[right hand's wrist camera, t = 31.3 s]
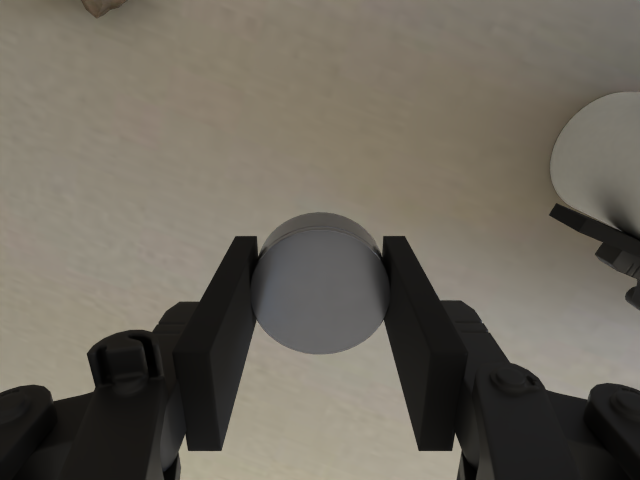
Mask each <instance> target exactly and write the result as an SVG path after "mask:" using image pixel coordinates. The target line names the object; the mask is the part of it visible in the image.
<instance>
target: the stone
mask: <svg viewBox="0 0 640 480" xmlns="http://www.w3.org/2000/svg"><path fill="white" fill-rule="evenodd" d="M81 1H82V3H83V5H84V6H85V8H86V10H88V11H89V12H90V13H91V14H92V15H93V16H95V17H96V18H98V17H100V16H102V15H104V14H105V13H106V12H108V11H109V10H111V9H114V8H118V7H120V6H121V5H122V4H123V3H124V2H126V1H127V0H81Z"/></svg>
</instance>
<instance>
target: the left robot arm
mask: <svg viewBox="0 0 640 480" xmlns="http://www.w3.org/2000/svg"><path fill="white" fill-rule="evenodd" d="M549 215H550V216H551V217H553V218H555V219H557V220H558V221H560V222H562V223H564V224H566V225H567V226H569V227H571V228H573V229H574V230H576V231H578V232H580V233H583V234H585V235H587V236H590V237H592V238H594V239H597V240H599V241H602V242H603V243H602V245H601V246H600V247H599V249H598V250H597V252H596V253H595V255H596V256H597V257H598V259H599V260H601V261H602V262H604V263H605V264H607V265H609V266H610V267H612V268H613V269H615V270H617V271H619V272H621V273H624V274H626V275H629V276H631V277H634V278H636V279H637V286H636V287H632V288H631V289H629V290H628V292H627V293H626V296H625V299H626V301H627V302H628V303H630V304H631V305H633V306H634V307H636V308H637V309H638V310H640V240H639V239H637V238H635V237H633V236H631V235H629V234H627V233H624V232H622V231H620V230H618V229H615V228H613V227H611V226H608V225H606V224H604V223H601V222H599V221H597V220H594V219H592V218H590V217H587V216H585V215H583V214H580V213H578V212H576V211H573V210H571V209H569V208H566V207H564V206H562V205H559V204H557V203H556V205H555V206H554V208H553V209H552V211H551V212H550V214H549Z"/></svg>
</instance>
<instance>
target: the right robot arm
mask: <svg viewBox="0 0 640 480" xmlns="http://www.w3.org/2000/svg"><path fill="white" fill-rule="evenodd" d="M382 258H383V261H384V264H385V267H386V270H387V273H388V275H389V279H390V285H391V286H390V300H389V308H388V311H387V314H386V316H385V318H384V322H385V326H386V330H387V334H388V337H389V341H390V345H391V348H392V352H393V356H394V360H395V363H396V367H397V371H398V375H399V378H400V382H401V386H402V390H403V393H404V397H405V401H406V405H407V408H408V412H409V416H410V420H411V423H412V427H413V431H414V435H415V438H416V442H417V446H418V449H419V451H452V448H453V442H454V436H455V433H456V436H457V438H458V441H459V443H460V446H461V449H462V452H461V458H460V464H459V469H458V475H457V480H640V391H639V390H637V389H634V388H631V387H628V386H624V385H620V384H611V383H604V384H599V385H596V386H595V387H594V388H592V389H591V391H590V394H589V397H588V400H586V399H581V398H577V397H572V396H568V395H563V394H559V393H555V392H552V391H548V390H546V389H545V387H544V385H543V384H542V383H541V381H540V380H539V378H538V377H536V376H535V375H534V374H533V373H531V372H530V371H529V370H527V369H525V368H523V367H520V366H518V365H516V364H512V363H510V362H509V360H508V359H507V357H506V356H505V354H504V353H503V352H502V350H501V349H500V347H499V346H498V344H497V343H496V341H495V340H494V338H493V337H492V335H491V334H490V333H488V329H487V328H486V326H485V325H484V323H482V320H481V319H480V318H479V316H478V315H477V313H476V312H475V310H474V309H472V308H471V307H469V306H468V305H467V304H465V303H464V302H462V301H440V300H439V298H438V296H437V294H436V292H435V291H434V289H433V287H432V285H431V283H430V281H429V280H428V278H427V276H426V274H425V272H424V270H423V269H422V267H421V265H420V263H419V261H418V260H417V258H416V256H415V254H414V252H413V250H412V249H411V247H410V245H409V243H408V241H407V240H406V238H405V236H383V252H382ZM257 259H258V247H257V236H235V238H234V240H233V242H232V244H231V245H230V247H229V249H228V251H227V253H226V255H225V256H224V258H223V260H222V262H221V264H220V266H219V267H218V269H217V271H216V273H215V275H214V276H213V278H212V280H211V282H210V284H209V286H208V287H207V289H206V291H205V293H204V295H203V297H202V298H201V300H200V302H179V303H177V304H176V305H174V306H173V307H171V308H170V309H169V310H167V311H166V312H165V314H164V315H163V317H162V318H161V320H160V321H159V324H158V325H157V326H156V327H155V329H154V330H153V332H149V331H145V330H128V331H124V332H119V333H116V334H113V335H111V336H108V337H106V338H104V339H102V340H101V341H99V342H98V343H96V344H95V345H93V347H92V348H91V349H90V350H89V351H88V353H87V356H88V360H89V364H90V368H91V372H92V375H93V379H94V383H95V387H96V388H95V390H94V392H91V393H88V394H84V395H80V396H76V397H71V398H67V399H62V400H58V401H53V399H52V396H51V393H50V391H49V390H48V389H47V388H45V387H44V386H38V385H27V386H19V387H16V388H12V389H9V390H6V391H4V392H2V393H0V480H180V472H181V465H180V458H179V452H178V451H179V449H180V446H181V444H182V441H183V438H184V436H185V434H186V440H187V446H188V451H221V450H222V447H223V443H224V439H225V436H226V432H227V428H228V424H229V421H230V417H231V413H232V409H233V406H234V402H235V398H236V394H237V391H238V387H239V383H240V379H241V376H242V372H243V368H244V364H245V361H246V357H247V353H248V349H249V346H250V342H251V338H252V335H253V331H254V327H255V323H256V320H257V319H256V317H255V315H254V313H253V310H252V307H251V297H250V281H251V277H252V273H253V270H254V268H255V265H256V262H257Z"/></svg>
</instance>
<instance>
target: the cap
mask: <svg viewBox="0 0 640 480" xmlns="http://www.w3.org/2000/svg"><path fill="white" fill-rule="evenodd" d="M390 286H391V285H390V279H389V275H388V273H387V270H386V267H385V264H384V261H383V258H382V256H381V253H380V250H379V248H378V246H377V244H376V242H375V240H374V239H373V238H372V236H371V235H370V234H369V233H368V232H367V231H366V230H365V229H364V228H363V227H362V226H360V225H359V224H358V223H356V222H354V221H352V220H351V219H348V218H346V217H344V216H340V215H337V214H332V213H320V212H317V213H308V214H304V215H300V216H297V217H294V218H292V219H290V220H288V221H286V222H284V223H283V224H281V225H280V226H279V227H277V228H276V229H275V230H274V231H273V232H272V233H271V234H270V236H269V237H268V238H267V239H266V241H265V243H264V244H263V246H262V249H261V251H260V253H259V256H258V259H257V262H256V265H255V268H254V270H253V273H252V277H251V281H250V297H251V307H252V310H253V313H254V315H255V317H256V319H257V321H258V323H259V324H260V325H261V327H262V328H263V329H264V330H265V331H266V333H267V334H268V335H270V336H271V337H272V338H273V339H274V340H276V341H277V342H279V343H280V344H282V345H284V346H286V347H288V348H290V349H293V350H296V351H299V352H303V353H309V354H332V353H337V352H341V351H344V350H348V349H350V348H352V347H354V346H357V345H358V344H360V343H362V342H363V341H365V340H366V339H367V338H369V337H370V336H371V335H372V334H373V333H374V332H375V331H376V330H377V328H378V327H379V326H380V325H381V323H382V321H383V320H384V318H385V316H386V314H387V311H388V308H389V300H390Z"/></svg>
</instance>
